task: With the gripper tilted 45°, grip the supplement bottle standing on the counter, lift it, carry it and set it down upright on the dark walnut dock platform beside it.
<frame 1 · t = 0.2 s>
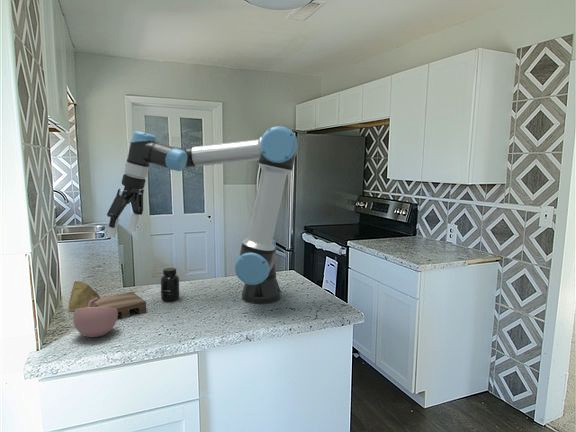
hand: (121, 233, 136), 27 cm above the counter, tool tilted 15°, fingers open, 13 cm apart
supplement bottle: (170, 299, 147), on the counter
rock: (86, 308, 139), on the counter
dock: (119, 311, 135), on the counter
mortar and pestle: (97, 335, 116), on the counter
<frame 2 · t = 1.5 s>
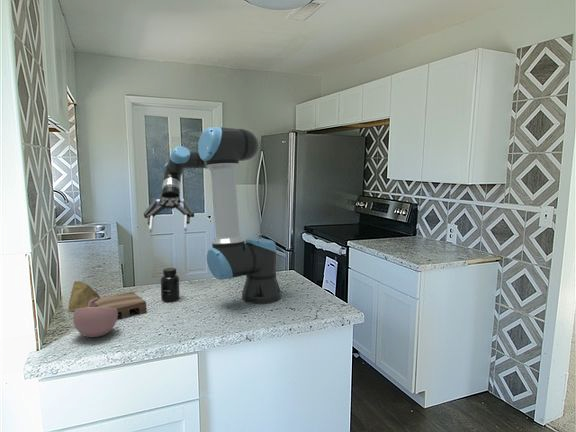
hand: (168, 230, 155), 25 cm above the counter, tool tilted 45°, fingers open, 13 cm apart
nothing on the counter moved.
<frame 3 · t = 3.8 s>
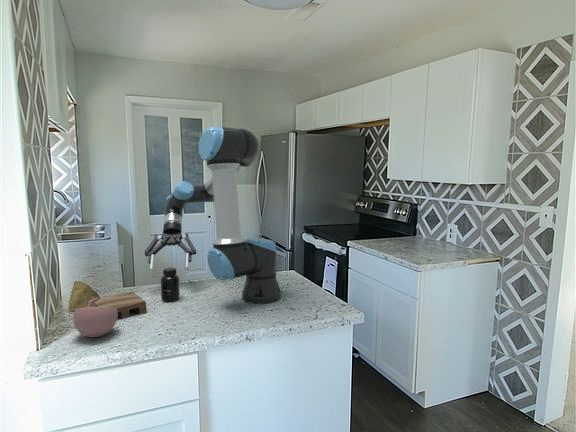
hand: (169, 269, 151), 10 cm above the counter, tool tilted 45°, fingers open, 13 cm apart
nothing on the counter moved.
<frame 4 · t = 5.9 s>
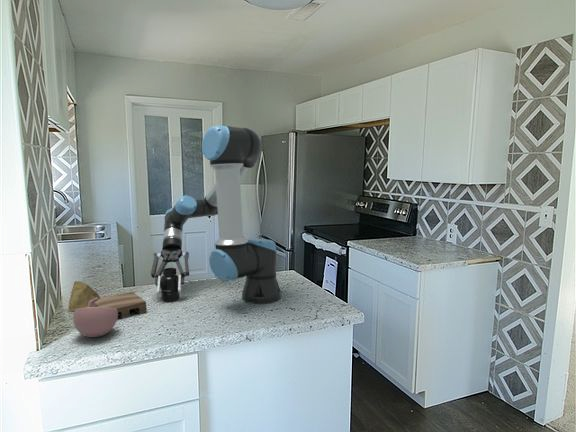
hand: (169, 292, 143), 4 cm above the counter, tool tilted 45°, fingers closed on supplement bottle, 7 cm apart
supplement bottle: (170, 299, 147), on the counter, touching gripper
everything else where it was.
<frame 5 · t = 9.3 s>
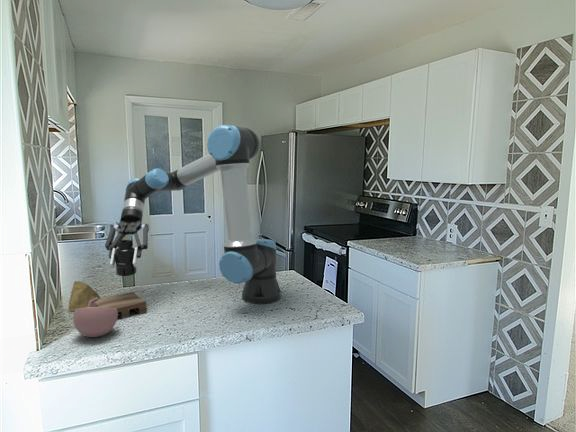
hand: (123, 265, 133), 17 cm above the counter, tool tilted 45°, fingers closed on supplement bottle, 7 cm apart
supplement bottle: (126, 274, 137), point 13 cm above the counter, touching gripper
everything else where it was.
when the fingers open (9 cm above the counter, at t = 12.4 s): supplement bottle drops 1 cm, resting on dock.
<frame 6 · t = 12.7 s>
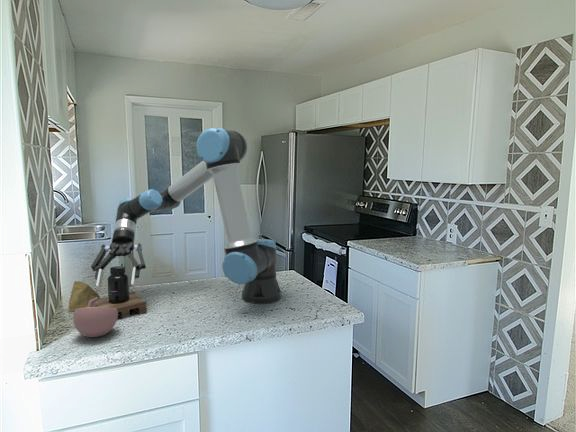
hand: (115, 286, 131), 10 cm above the counter, tool tilted 45°, fingers open, 10 cm apart
supplement bottle: (119, 301, 134), point 4 cm above the counter, touching dock
everything else where it was.
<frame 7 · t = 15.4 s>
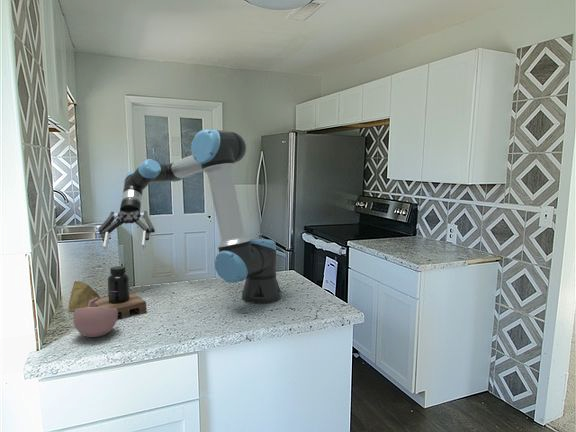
hand: (124, 247, 143), 21 cm above the counter, tool tilted 45°, fingers open, 13 cm apart
nothing on the counter moved.
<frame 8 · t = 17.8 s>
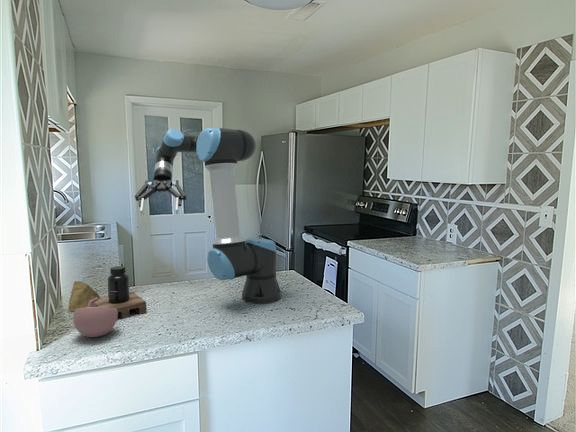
hand: (159, 212, 153), 33 cm above the counter, tool tilted 45°, fingers open, 13 cm apart
nothing on the counter moved.
at the end: supplement bottle inside the target area on the dock (0.2 cm from its centre), point 3.8 cm above the dock's base; supplement bottle tilted 0°; the gripper is holding nothing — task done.
